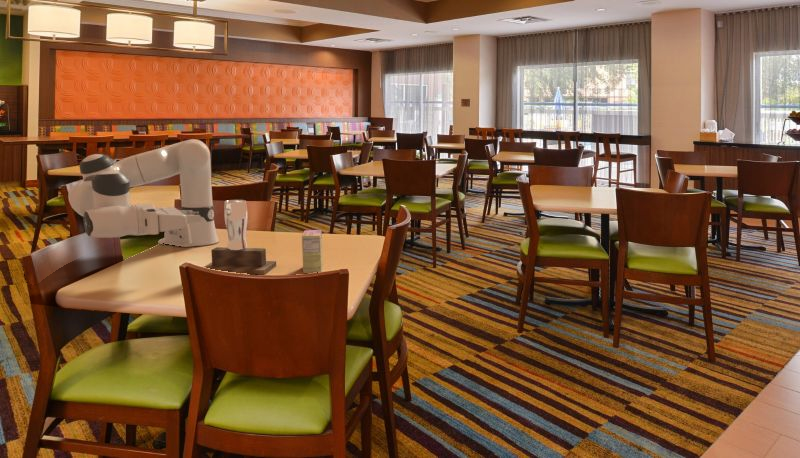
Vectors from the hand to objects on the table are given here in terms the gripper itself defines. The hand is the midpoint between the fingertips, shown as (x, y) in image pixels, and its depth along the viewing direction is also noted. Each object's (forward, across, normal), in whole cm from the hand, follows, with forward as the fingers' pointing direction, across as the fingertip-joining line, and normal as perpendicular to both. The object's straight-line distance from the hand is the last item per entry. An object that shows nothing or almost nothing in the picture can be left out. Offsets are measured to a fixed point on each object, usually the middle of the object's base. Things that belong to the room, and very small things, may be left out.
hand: (196, 215), depth 183 cm
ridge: (+12, 0, -18) cm, 22 cm away
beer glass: (+12, -1, -12) cm, 17 cm away
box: (+32, +12, -18) cm, 39 cm away
